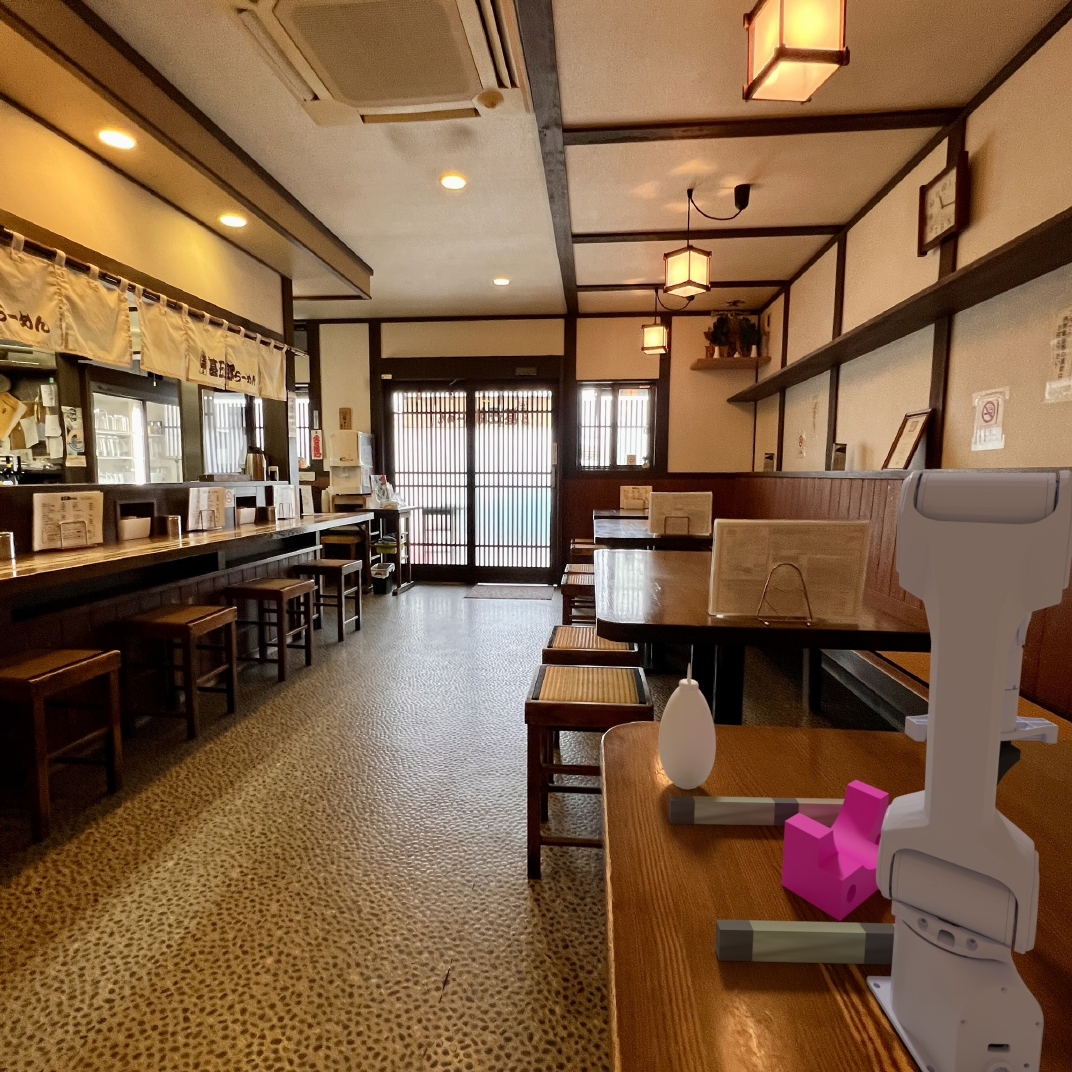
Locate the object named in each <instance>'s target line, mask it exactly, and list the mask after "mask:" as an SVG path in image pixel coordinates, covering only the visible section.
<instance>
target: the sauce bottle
mask: <svg viewBox="0 0 1072 1072" xmlns="http://www.w3.org/2000/svg"><path fill="white" fill-rule="evenodd" d="M691 668H692V667H691V663H690V662H689V663H688V666H687V675H686V677H687V678H683V679H680V680H679V681H678V685H679V686H678V687H677V688H676V689H675V690H674V691H673V692H672V694H671V695H670V697H669V699H668V701H667V702H666V706H665V708H664V710H663V713H662V716H661V720H660V724H659V731H658V739H657V740H658V743H657V745H658V754H659V755H658V756H659V760H660V763H661V767H662V769H663V771H664V773H665V775H666V777H667V778H668V779H669V781H671V782H672V783H673V785H674V786H676V787H677V788H680V789H682V790H692V789H696V788H698V786H701V785H703V784H704V783H705V782H706V780H707V779H708V777H709V776H710V774H711V771H712V770H713V767H714V763H715V758H716V751H717V750H716V748H717V739H716V738H717V737H716V729H715V723H714V719H713V716H712V713H711V710H710V707H709V704H708V702H707V699H706V697H705V696H704V694H703V693H702V691H701V690H700V689H699V683H698V681H696V680H695V679H691V678H692V677H691V675H692V670H691Z"/></svg>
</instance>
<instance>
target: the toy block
mask: <svg viewBox="0 0 1072 1072" xmlns="http://www.w3.org/2000/svg"><path fill="white" fill-rule="evenodd" d="M889 797H890V793H888V792H886V791H883V790H882V789H879V788H876V787H875V786H872V785H870V784H867V783H865V782H862V781H860V780H858V779H855V780H853V781H851V782H849V783H847V785H846V790H845V795H844V798H843V799H844V802H843V805H842V808H841V810H840V813H839V815H838V817H837V819H836V821H835V822H834V824H833V825H832V827H831V826H830V827H829V826H824V825H823V824H821V823H819V822H817V821H815V820H813V819H811V818H809V817H807V816H805V815H803V814H801V813H798V814H796V815H794V816H793V817H791V818H789V819H788V820H786V821H785V826H784V834H783V853H782V871H781V872H782V873H781V886H782V887H785V889H788V890H789V891H790V892H792V893H794V894H796V895H797V896H799V897H801V898H802V899H804V900H805V901H807V902H808V903H810V904H811V905H814V906H815V907H817V908H819V909H820V910H821V911H823V912H825V913H826V914H827V915H829V916H830V917H833V918H834V919H836V920H837V921H839V922H841V921H842V920H843V919H844V918H845V917H846V916H848V915H849V914H850V913H852V912H853V911H854V910H855V909H856V908H857V907H859V905H861V904H862V903H863V902H865V901H866V900H867V899H868V898H869V897H870V896H872V895H873V894H874V893H875V892H877V891H878V890H880V889H879V888H878V886H877V884H876V865H877V856H878V849H879V844H880V839H881V828H882V824H883V820H884V817H885V814H886V811H887V808H888V806H889V799H890V798H889Z"/></svg>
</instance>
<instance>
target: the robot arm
mask: <svg viewBox="0 0 1072 1072" xmlns="http://www.w3.org/2000/svg"><path fill="white" fill-rule="evenodd" d="M896 518H897V519H896V550H895V551H896V552H895V555H896V556H895V557H896V558H895V559H896V560H895V570H896V572H897V573H898V586H899V587H900V588H902V589H904V590H905V591H907V592H908V593H910V594H912V595H913V596H915V597H917V598H918V599H919V600H920V601H922V602H923V603H924V604H923V605H924V608H925V609H924V610H925V613H926V619H927V623H928V628H929V632H930V633H929V634H930V641H931V642H930V643H931V646H930V647H931V648H930V668H929V669H930V670H929V686H928V687H929V688H928V708H927V710H928V711H927V712H928V713H927V714H923V715H914V716H912V715H909V716H905V724H904V725H905V726H904V734H905V735H906V736H908V737H909V738H911V739H912V740H914V741H915V742H925V741H926V756H925V757H926V758H925V778H924V780H925V781H924V790H920V791H919V790H918V791H916V792H911V793H907V794H904V795H900V796H897V797H895V798H893V800H892V801H891V804H888V808H887V811H886V814H885V817H884V820H883V824H882V828H881V839H880V844H879V849H878V856H877V865H876V884H877V886H878V888H879V889H878V890H879V891H880V892H881V896H883V898H885V899H888V900H891V915H893V916H894V920H895V921H894V924H895V930H894V944H893V958H892V965H891V972H890V976H886V975H885V976H883V975H879V976H878V975H868V976H867V977H866V984H867V986H868V987H869V989H870V991H871V992H872V993H873V995H874V997H875V998H876V1000H877V1002H878V1003H879V1004H880V1006H881V1009H882V1010H883V1012H884V1013H885V1014H886V1017H888V1019H889V1021H890V1022H891V1024H892V1026H893V1028H895V1031H896V1032H897V1033H898V1035H899V1036H900V1038H901V1040H902V1042H903V1043H904V1045H905V1046H906V1047H907V1049H908V1051H909V1052H910V1054H911V1056H912V1057H913V1058H914V1060H915V1062H916V1063H917V1066H918V1067H919V1068H920V1070H921V1071H922V1072H1040V1063H1041V1054H1042V1044H1043V1036H1044V1035H1043V1034H1044V1023H1045V1022H1044V1021H1045V1020H1044V1014H1043V1010H1042V1008H1041V1005H1040V1003H1039V1002H1038V1000H1037V998H1036V997H1035V996H1034V995H1033V993H1032V992H1031V991H1030V989H1029V987H1027V985H1026V984H1025V982H1024V980H1023V979H1022V977H1021V975H1020V974H1019V972H1018V970H1017V967H1016V965H1015V962H1014V960H1013V957H1012V944H1013V943H1014V944H1013V951H1014V952H1016V953H1019V954H1021V955H1024V954H1026V952H1030V951H1031V950H1033V949H1034V947H1035V941H1036V934H1037V933H1036V932H1037V921H1038V911H1039V910H1038V909H1039V895H1040V894H1039V893H1040V872H1039V867H1040V866H1039V865H1040V864H1039V863H1040V860H1039V859H1040V858H1039V857H1040V856H1039V855H1040V853H1039V852H1038V851H1037V850H1036V849H1035V841H1033V839H1032V838H1031V837H1030V836H1028V835H1027V834H1026V833H1025V832H1024V831H1023V830H1021V828H1019V827H1018V826H1017V825H1016V824H1015V823H1013V822H1012V821H1011V820H1010V819H1008V818H1007V817H1006V816H1005V815H1004V814H1002V812H1000V811H999V810H998V809H997V807H996V799H997V798H996V797H997V787H998V786H999V785H1000V782H1001V781H1002V779H1003V777H1004V776H1005V775H1006V774H1007V773H1008V771H1009V770H1010V769H1011V768H1012V767H1014V766H1015V765H1016V764H1017V763H1018V762H1019V761H1020V760H1021V754H1022V751H1021V750H1020V748H1018V747H1016V746H1015V745H1013V744H1012V741H1042V742H1043V743H1045V744H1057V743H1058V734H1059V725H1057V724H1056V723H1054V722H1051V721H1049V720H1047V719H1046V718H1043V717H1040V718H1039V717H1028V716H1018V709H1019V708H1018V707H1019V698H1020V686H1021V678H1022V677H1021V674H1022V665H1023V655H1024V648H1023V647H1022V646H1023V645H1025V644H1026V637H1027V631H1028V628H1029V624H1030V621H1031V619H1032V614H1033V612H1035V611H1039V610H1042V609H1046V608H1048V607H1049V608H1050V607H1052V606H1055V605H1060V604H1061V603H1062V597H1063V590H1065V589H1067V588H1068V587H1069V584H1070V583H1069V582H1070V574H1071V566H1072V471H1071V470H1069V469H1067V470H1066V469H1063V470H1059V471H1058V478H1057V473H1056V472H924V471H923V470H914V471H911V473H910V474H909V475H908V476H907V477H905V479H903V481H902V484H901V488H900V491H899V498H898V504H897V517H896ZM1013 936H1014V939H1013ZM1013 941H1014V942H1013Z"/></svg>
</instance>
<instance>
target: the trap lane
mask: <svg viewBox="0 0 1072 1072" xmlns="http://www.w3.org/2000/svg"><path fill="white" fill-rule="evenodd" d="M844 799H845V798H819V797H818V798H816V797H815V798H814V797H813V798H812V797H811V798H810V797H807V798H806V797H759V796H757V797H754V796H753V797H751V796H750V797H749V796H711V795H710V796H704V795H703V796H702V795H699V796H698V795H669V796H668V816H667V817H668V821H669V824H674V825H675V824H680V825H681V824H683V825H684V824H685V825H687V824H688V825H690V824H691V825H732V826H733V825H734V826H736V825H738V826H743V825H744V826H784V827H785V821H786V820H788V819H789V818H791V817H793V816H794V815H796V814H798V813H801V814H803V815H805V816H807V817H809V818H811V819H813V820H815V821H817V822H819V823H821V824H823V825H824V826H826V827H830V828H831V827H832V825H833V824H834V822H835V821H836V819H837V817H838V815H839V813H840V810H841V808H842V805H843V802H844ZM894 930H895V923H886V922H885V923H881V922H879V923H878V922H841V921H839V922H837V921H834V922H833V921H800V920H799V921H795V920H794V921H791V920H752V919H749V920H748V919H745V920H744V919H716V920H715V939H714V940H715V943H714V950H715V953H716V956H717V959H718V961H726V962H727V961H729V962H730V961H731V962H732V961H734V962H768V963H769V962H772V963H774V962H775V963H808V964H809V963H813V964H814V963H815V964H853V965H857V964H858V965H859V964H862V965H891V966H892V958H893V944H894Z"/></svg>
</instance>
